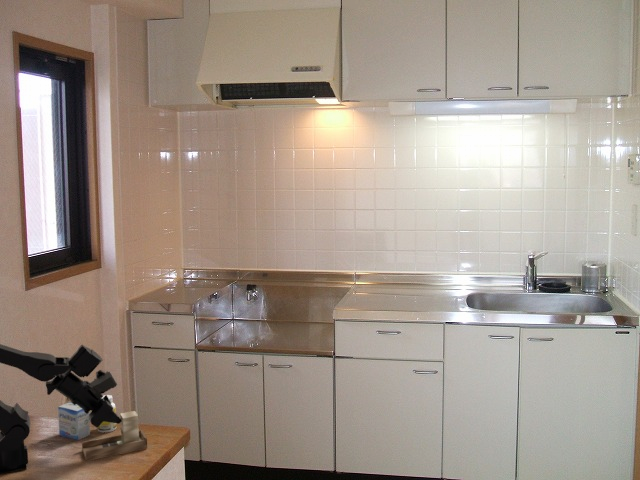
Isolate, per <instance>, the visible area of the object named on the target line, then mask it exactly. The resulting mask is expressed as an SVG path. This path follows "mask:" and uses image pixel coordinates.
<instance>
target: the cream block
mask: <svg viewBox="0 0 640 480" xmlns="http://www.w3.org/2000/svg"><path fill="white" fill-rule="evenodd" d="M119 418H120V419H121V420H122V421H121V422H120V435H121V440H122V443H123V444H124V443H129V442H135V441H139V431H140V429H139V414H138V413H137V412H136V411H135V410H133V411H132V410H131V411H126V412H121V413H119Z"/></svg>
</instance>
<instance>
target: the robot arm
mask: <svg viewBox="0 0 640 480" xmlns="http://www.w3.org/2000/svg"><path fill="white" fill-rule="evenodd" d="M102 362H103V358H102V357H101V356H100V355H99V354H98V353H97V352H96V351H95V350H93V349H92V348H89V347H88V346H85V345H84V344H81V345H80V346H79V347H78V348H77V350H76V351H75V352H74V353H73V354H72V355H71V356H70V357H60V356H57V357H56V356H54V355H53V354H51V353H44V352H37V351H36V352H34V351H33V352H30V351H23V350H20V349H17V348H13V347H10V346H8V345H3V344H1V343H0V364H3V365H6V366H8V367H9V366H10V367H13V368H16V369H18V370H20V371H22V372H23V373H25V374H27V376H30V377H31V378H33V379H35V380H37V381H39V382H45V387H46V393H47V395H48V396H50V395H51V394H52V393H53V392H54V391H56V392H58V393H59V394H61V395H63V396H64V397H66V398H67V399H68V400H69V401H70V403H72V404H74V405H76V404H77V405H78V406H79V407H81V408H82V409H84V412H85V413H87V414H88V412H89V423H90V424H91V425H92V426H94V427H95V428H97V427H99V426H100V424H101V423H102V422H103V421H104V422H111V423H117V424H121V421H122V420H121V419H120V415H118V414H117V412H116V413H115V412H114V411H113V407H112V405H111V402H110V400H108V397H107V395H108V394H105V395H106V396H105V397H104V398H102V397H103V394H104V393H106V392H108V391H109V390H111V389H114V388H115V387H116V388H117V386H118V384H117V381H116V380H115V378H114V377H113V375H112V373H111V372H110V371H106V372H105V371H104V370H102V369H100V370H98V371H96V372H95V378H94V379H93V380H92V381H91V382H89V380H83V379H81V378H85V377H87V378H88V377H89V376H90V375H91V374H92V373H93V372H94V370H95V369H96V368H97V367H98V366H99V365H100V364H101V363H102ZM101 398H102V399H101ZM90 411H91V412H90ZM31 423H32V422H31V417H30V415H29V411H28V410H25V409H23V408H22V407H21V405H19V404H18V403H15V404H14V406H10V405H8V404H7V403H4V402H3V400H1V399H0V475H4V474H9V473H14V472H18V471H25V470H27V467H28V465H29V457H28V456H29V454H28V446H27V445H25V440H26V439H27V438H28V437H29V435H30V431H31Z"/></svg>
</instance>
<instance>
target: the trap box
mask: <svg viewBox="0 0 640 480" xmlns="http://www.w3.org/2000/svg"><path fill="white" fill-rule="evenodd" d="M81 448H82V453H83V455H84V459H85V461H86V462H87V461H92V460H97V459H101V458H107V457H112V456H117V455H122V454H126V453H131V452H132V453H133V452H136V451H137V452H138V451H142V450H147V449H148V438H147V436H146V434H145V433H144V430H142V428H140V429H139V441H135V442H129V443H124V444H123V443H122V440H121V434H116V435H112V436H105V437H101V438H97V439H91V440H85V441H82V442H81Z"/></svg>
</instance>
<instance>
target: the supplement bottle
mask: <svg viewBox="0 0 640 480" xmlns="http://www.w3.org/2000/svg"><path fill="white" fill-rule="evenodd" d="M102 395H103V394H102ZM106 395H107V397H108V400H110V402H111V405H112V407H113V411H114V412H115V413H116V414H117V411H116V409H117V407H116V404H115V402H113V395H112V394H105V395H103V397H102V398H104V397H105V396H106ZM102 398H101V399H102ZM96 428H97V431H98V432H99V431H100V432H99V433H104V432H105V433H111V432H114V431H115V430H116V429H117V423H111V422H104V421H103V422H102V423H101V424H100V426H99V427H96Z"/></svg>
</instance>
